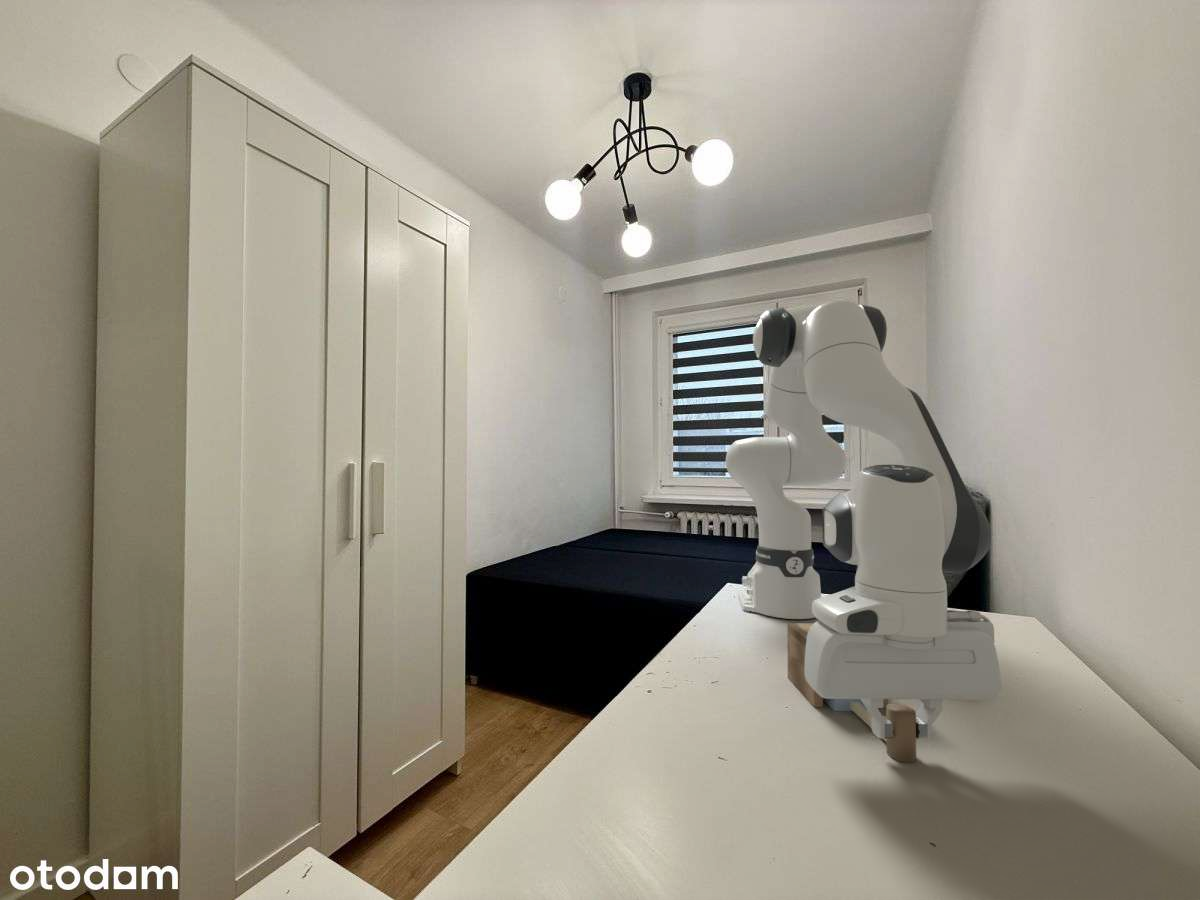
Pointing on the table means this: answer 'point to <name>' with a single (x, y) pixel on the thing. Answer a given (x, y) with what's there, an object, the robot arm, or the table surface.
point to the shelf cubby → (802, 662)
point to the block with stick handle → (903, 726)
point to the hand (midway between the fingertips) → (901, 736)
